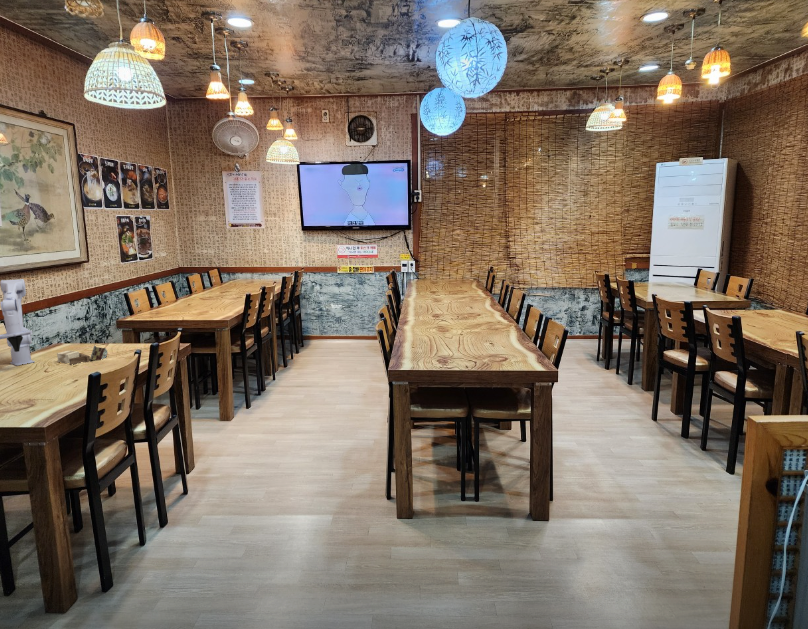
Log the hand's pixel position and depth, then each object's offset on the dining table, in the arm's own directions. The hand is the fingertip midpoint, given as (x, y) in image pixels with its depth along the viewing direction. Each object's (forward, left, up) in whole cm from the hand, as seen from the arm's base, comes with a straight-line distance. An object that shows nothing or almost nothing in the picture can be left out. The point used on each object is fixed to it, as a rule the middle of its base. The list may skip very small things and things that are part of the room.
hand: (17, 351), depth 253 cm
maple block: (+4, +21, -10) cm, 23 cm away
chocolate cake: (+11, +32, -10) cm, 35 cm away
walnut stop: (+5, +22, -9) cm, 25 cm away
